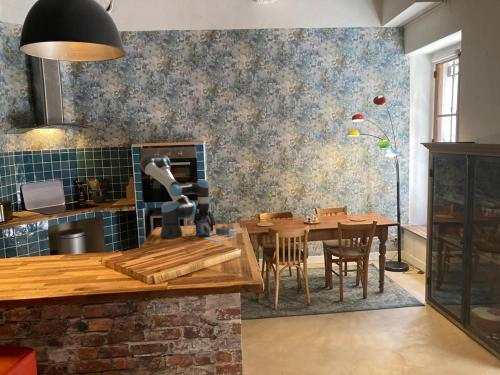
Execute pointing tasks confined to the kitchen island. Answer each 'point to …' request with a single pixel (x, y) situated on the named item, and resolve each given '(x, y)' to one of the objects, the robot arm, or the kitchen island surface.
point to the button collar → (223, 230)
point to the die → (232, 232)
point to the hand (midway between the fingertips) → (204, 234)
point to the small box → (202, 228)
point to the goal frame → (219, 235)
